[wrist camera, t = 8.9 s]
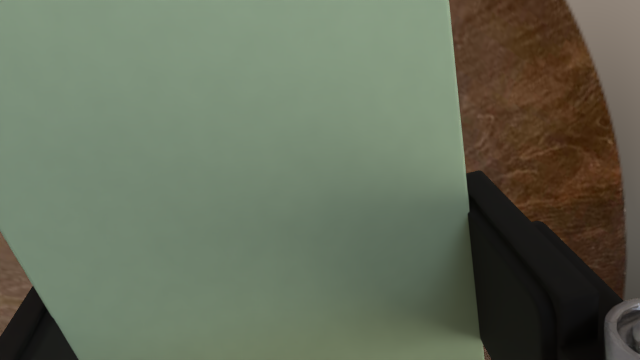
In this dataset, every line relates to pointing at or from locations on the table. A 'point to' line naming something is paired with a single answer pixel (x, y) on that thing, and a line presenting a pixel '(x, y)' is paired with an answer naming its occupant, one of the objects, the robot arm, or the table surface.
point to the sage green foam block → (239, 177)
